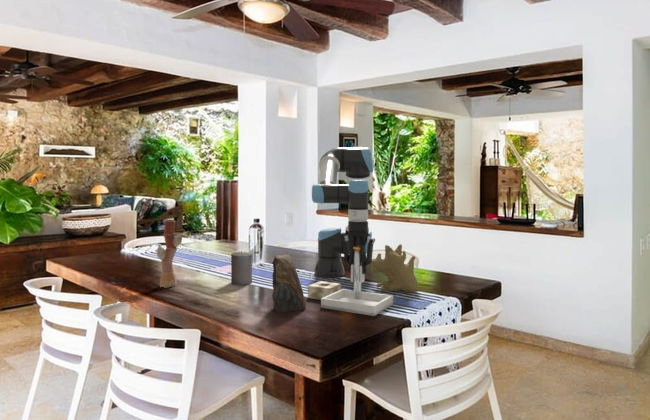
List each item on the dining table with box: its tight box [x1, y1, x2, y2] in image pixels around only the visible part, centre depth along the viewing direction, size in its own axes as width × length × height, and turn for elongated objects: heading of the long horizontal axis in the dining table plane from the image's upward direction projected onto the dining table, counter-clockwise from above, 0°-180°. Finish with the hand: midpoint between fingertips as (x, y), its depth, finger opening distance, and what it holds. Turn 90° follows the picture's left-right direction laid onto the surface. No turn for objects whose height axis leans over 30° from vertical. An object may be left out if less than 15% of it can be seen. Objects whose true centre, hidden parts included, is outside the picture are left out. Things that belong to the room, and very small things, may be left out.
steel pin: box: [353, 246, 363, 299], centre depth 185 cm, size 4×4×20 cm
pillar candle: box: [230, 250, 253, 286], centre depth 225 cm, size 10×10×15 cm
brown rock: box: [271, 253, 307, 314], centre depth 183 cm, size 13×13×20 cm
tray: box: [320, 288, 394, 317], centre depth 186 cm, size 22×18×4 cm
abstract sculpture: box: [156, 219, 183, 289], centre depth 217 cm, size 10×7×30 cm
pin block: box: [307, 280, 342, 301], centre depth 200 cm, size 10×10×5 cm
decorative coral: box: [369, 243, 419, 293], centre depth 212 cm, size 26×22×25 cm
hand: (357, 281), depth 185 cm, fingers closed on steel pin, 3 cm apart
